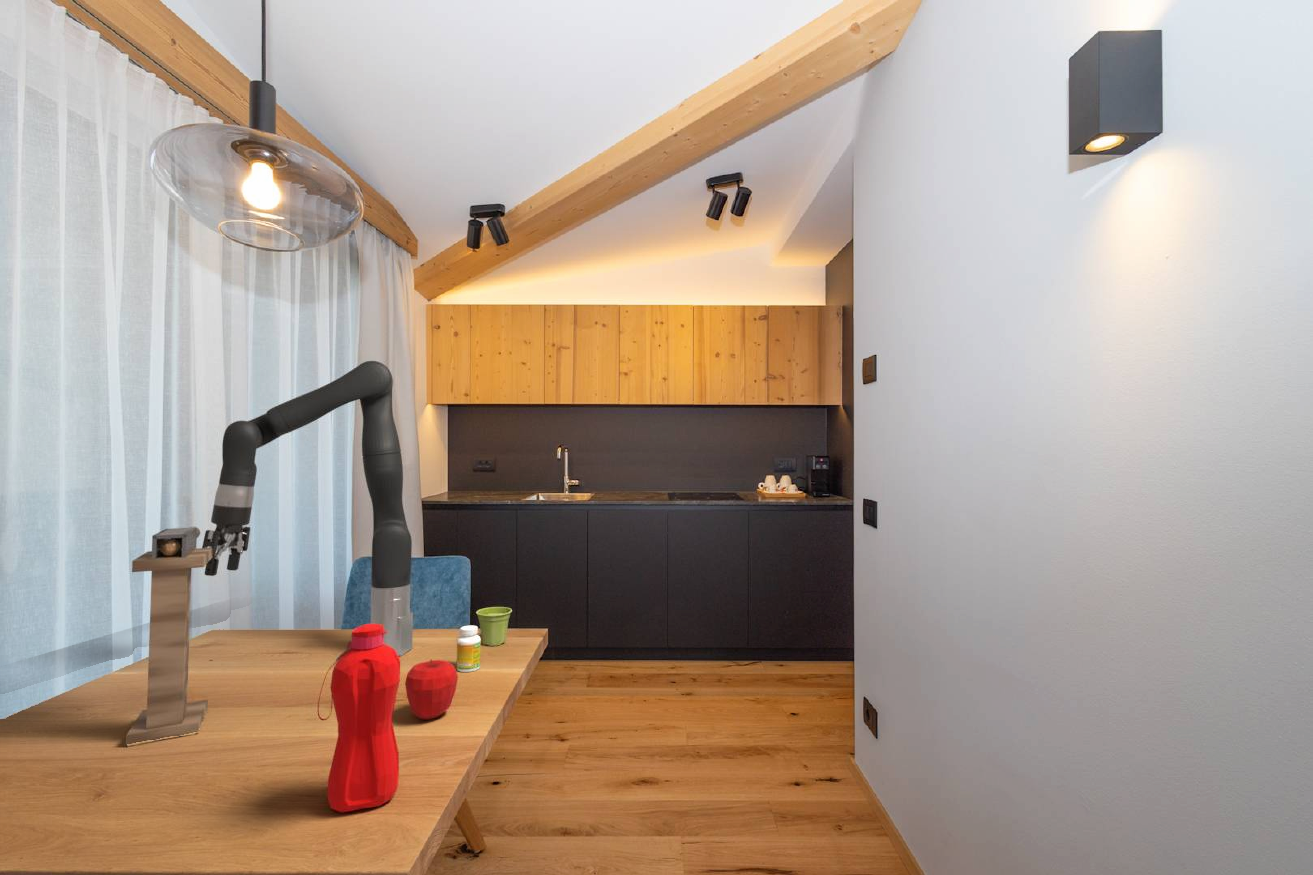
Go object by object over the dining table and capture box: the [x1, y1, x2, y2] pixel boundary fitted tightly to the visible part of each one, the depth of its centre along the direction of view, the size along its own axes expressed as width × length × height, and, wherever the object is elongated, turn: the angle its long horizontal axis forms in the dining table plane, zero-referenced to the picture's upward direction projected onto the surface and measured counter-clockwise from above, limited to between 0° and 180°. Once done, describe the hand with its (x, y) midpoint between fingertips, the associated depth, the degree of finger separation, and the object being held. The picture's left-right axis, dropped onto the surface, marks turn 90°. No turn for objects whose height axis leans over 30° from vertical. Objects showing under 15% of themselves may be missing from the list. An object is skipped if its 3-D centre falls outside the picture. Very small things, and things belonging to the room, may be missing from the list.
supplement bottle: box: [456, 624, 482, 673], centre depth 142 cm, size 5×5×10 cm
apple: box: [404, 659, 459, 720], centre depth 116 cm, size 10×10×11 cm
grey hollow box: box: [151, 526, 198, 559], centre depth 112 cm, size 12×5×4 cm, turn 30°
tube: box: [160, 526, 201, 555], centre depth 118 cm, size 24×3×3 cm, turn 31°
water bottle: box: [317, 623, 401, 814], centre depth 88 cm, size 9×11×25 cm
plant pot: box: [475, 606, 513, 647], centre depth 162 cm, size 9×9×9 cm
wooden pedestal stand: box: [125, 547, 212, 746], centre depth 111 cm, size 12×10×32 cm
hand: (221, 572), depth 141 cm, fingers open, 8 cm apart
